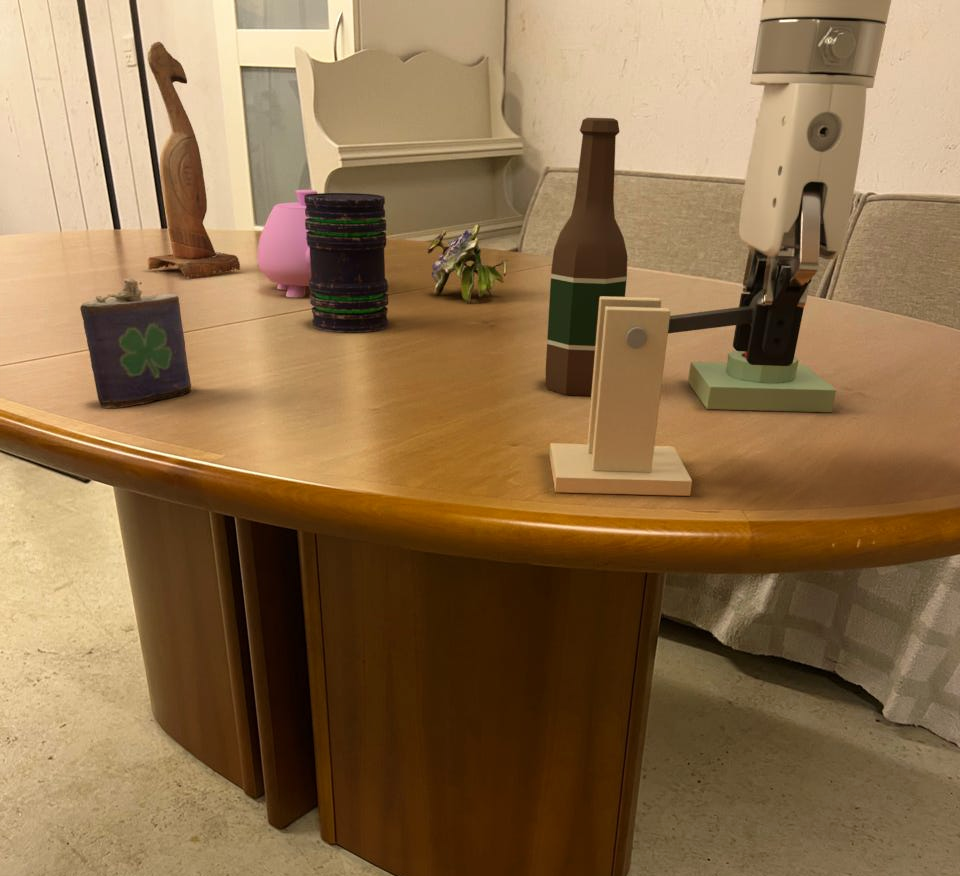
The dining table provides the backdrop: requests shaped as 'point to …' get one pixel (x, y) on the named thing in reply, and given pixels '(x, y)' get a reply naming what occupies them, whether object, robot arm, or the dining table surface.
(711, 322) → the lever
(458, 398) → the dining table surface
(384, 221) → the storage jar
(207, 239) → the bird sculpture
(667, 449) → the bracket
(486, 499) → the dining table surface
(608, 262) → the beer bottle
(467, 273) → the passion flower
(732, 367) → the button box
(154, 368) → the flask
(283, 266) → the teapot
